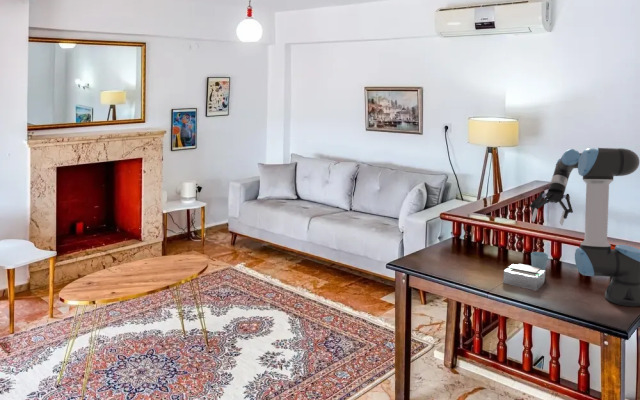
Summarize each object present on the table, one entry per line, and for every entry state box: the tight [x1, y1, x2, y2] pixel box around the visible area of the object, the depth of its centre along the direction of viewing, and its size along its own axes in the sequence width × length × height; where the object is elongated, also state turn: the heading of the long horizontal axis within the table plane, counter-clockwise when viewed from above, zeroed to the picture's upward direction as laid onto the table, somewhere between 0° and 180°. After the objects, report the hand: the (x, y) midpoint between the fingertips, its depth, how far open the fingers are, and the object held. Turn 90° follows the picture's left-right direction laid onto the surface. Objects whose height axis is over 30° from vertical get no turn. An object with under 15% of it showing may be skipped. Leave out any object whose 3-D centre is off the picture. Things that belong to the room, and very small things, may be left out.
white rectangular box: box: [502, 263, 546, 291], centre depth 256 cm, size 12×15×6 cm
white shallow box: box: [506, 263, 541, 276], centre depth 258 cm, size 11×14×6 cm
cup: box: [530, 251, 549, 271], centre depth 266 cm, size 8×8×10 cm
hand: (546, 222), depth 271 cm, fingers open, 13 cm apart
